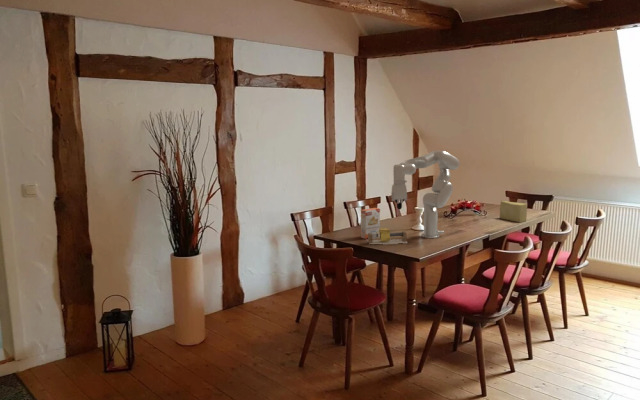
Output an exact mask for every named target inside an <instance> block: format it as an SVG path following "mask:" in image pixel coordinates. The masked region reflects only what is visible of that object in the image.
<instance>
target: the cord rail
mask: <svg viewBox="0 0 640 400" xmlns="http://www.w3.org/2000/svg"><path fill="white" fill-rule="evenodd" d="M380 237H381V233H380V232H378V233H377V234H376V232H371V233H368V239H367V243H368V242H369V243H368V244H369V245H370V244H383V245H399V244H398V243H403V244H408V240H407V238H408V237H407V232H406V231H401V232H390V237H401V239H400V238H399V239H398V238H397V239H395V238H394V239H390V241H380V240H379V238H380ZM373 239H376V240H373Z"/></svg>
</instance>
